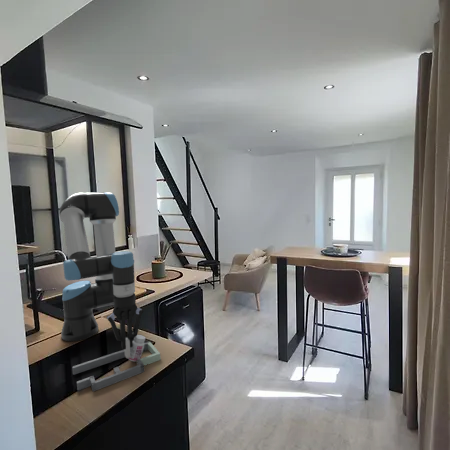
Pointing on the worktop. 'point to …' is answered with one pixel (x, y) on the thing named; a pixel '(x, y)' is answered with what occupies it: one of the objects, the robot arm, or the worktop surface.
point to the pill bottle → (137, 348)
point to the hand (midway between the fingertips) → (127, 356)
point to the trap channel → (117, 374)
